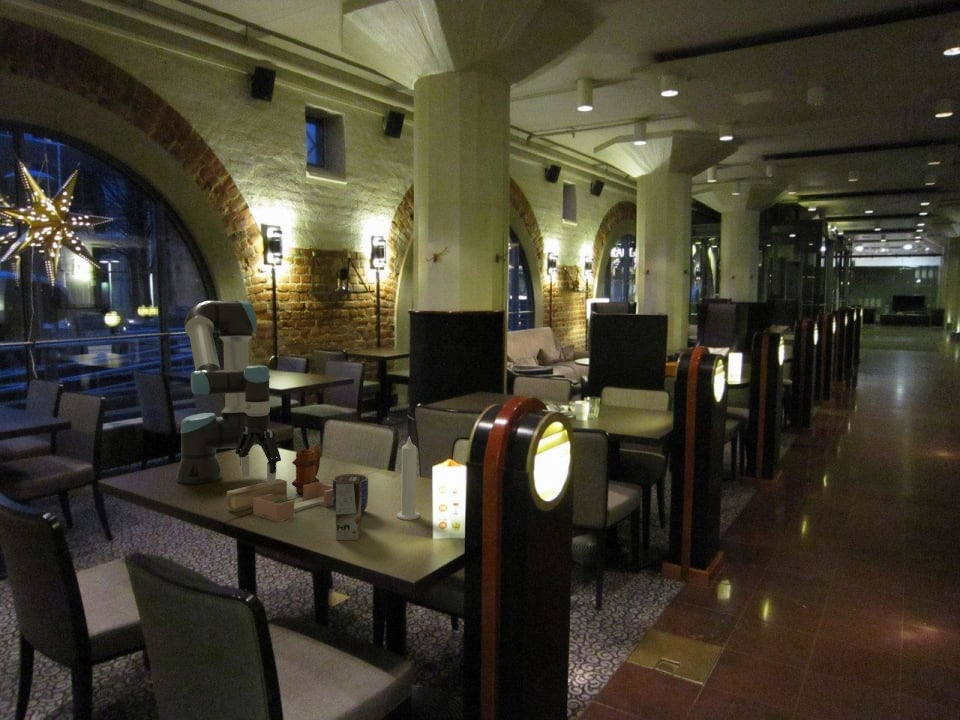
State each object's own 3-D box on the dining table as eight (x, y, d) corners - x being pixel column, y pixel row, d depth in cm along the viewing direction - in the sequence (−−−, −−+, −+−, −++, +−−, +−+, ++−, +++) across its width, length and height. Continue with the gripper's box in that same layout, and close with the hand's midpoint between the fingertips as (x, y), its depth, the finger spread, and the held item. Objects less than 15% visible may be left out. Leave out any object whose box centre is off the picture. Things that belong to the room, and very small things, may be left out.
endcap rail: (253, 514, 213) (253, 498, 213) (317, 496, 234) (317, 481, 233) (277, 521, 207) (277, 505, 206) (341, 502, 227) (341, 487, 227)
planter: (352, 520, 209) (353, 484, 208) (325, 514, 214) (325, 479, 213) (375, 511, 219) (375, 476, 218) (348, 505, 224) (348, 471, 223)
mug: (310, 496, 233) (310, 452, 232) (288, 494, 235) (288, 450, 234) (328, 485, 248) (328, 443, 246) (307, 483, 249) (307, 442, 248)
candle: (410, 521, 210) (411, 439, 207) (392, 517, 213) (392, 437, 211) (424, 515, 216) (425, 436, 213) (406, 511, 219) (407, 433, 217)
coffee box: (358, 540, 193) (359, 483, 191) (335, 540, 192) (335, 483, 191) (361, 529, 202) (361, 474, 201) (339, 529, 201) (339, 474, 200)
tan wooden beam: (227, 510, 217) (226, 491, 217) (279, 496, 234) (279, 478, 233) (234, 512, 215) (234, 493, 215) (286, 498, 231) (286, 480, 231)
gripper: (223, 411, 226) (224, 476, 228) (272, 419, 211) (273, 488, 213) (243, 409, 232) (244, 471, 234) (292, 416, 218) (292, 483, 219)
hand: (258, 479), depth 223 cm, fingers open, 13 cm apart
